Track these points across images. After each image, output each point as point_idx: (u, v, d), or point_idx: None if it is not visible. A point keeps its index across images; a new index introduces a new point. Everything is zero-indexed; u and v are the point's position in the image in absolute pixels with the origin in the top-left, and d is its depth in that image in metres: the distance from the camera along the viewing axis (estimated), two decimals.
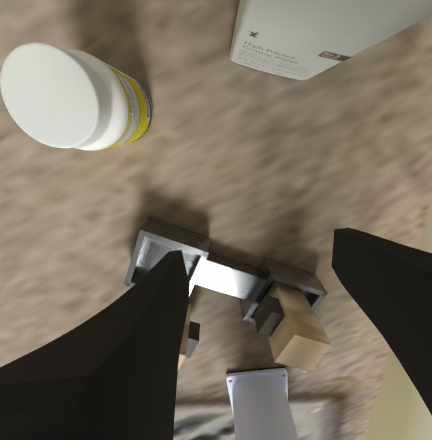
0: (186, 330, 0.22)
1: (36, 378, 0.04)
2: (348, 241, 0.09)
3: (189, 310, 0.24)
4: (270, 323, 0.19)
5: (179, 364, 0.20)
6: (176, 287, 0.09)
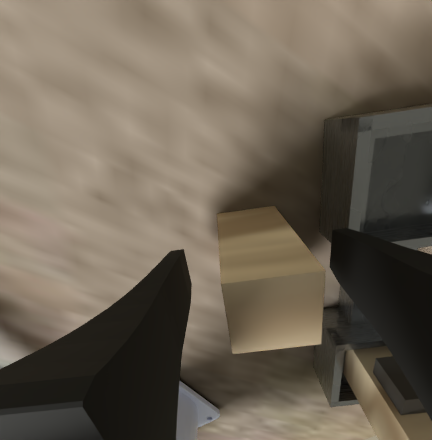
0: None
1: (42, 379, 0.04)
2: (346, 241, 0.09)
3: None
4: None
5: (285, 345, 0.08)
6: (178, 287, 0.09)
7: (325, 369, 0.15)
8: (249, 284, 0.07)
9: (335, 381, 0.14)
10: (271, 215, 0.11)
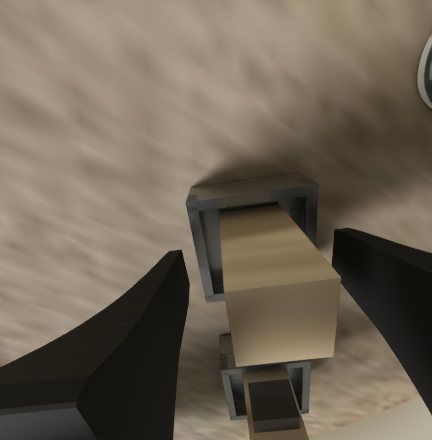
0: None
1: (36, 379, 0.04)
2: (348, 241, 0.09)
3: None
4: (279, 423, 0.12)
5: (293, 357, 0.07)
6: (176, 287, 0.09)
7: None
8: (255, 292, 0.06)
9: (228, 399, 0.16)
10: (277, 214, 0.10)
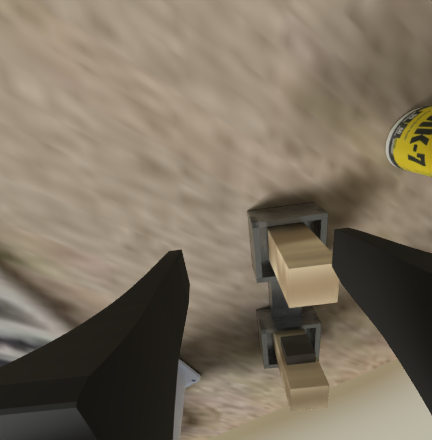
0: None
1: (36, 379, 0.04)
2: (348, 241, 0.09)
3: None
4: (303, 358, 0.20)
5: (318, 302, 0.15)
6: (176, 287, 0.09)
7: (261, 346, 0.25)
8: (302, 269, 0.14)
9: (264, 352, 0.24)
10: (304, 229, 0.18)
